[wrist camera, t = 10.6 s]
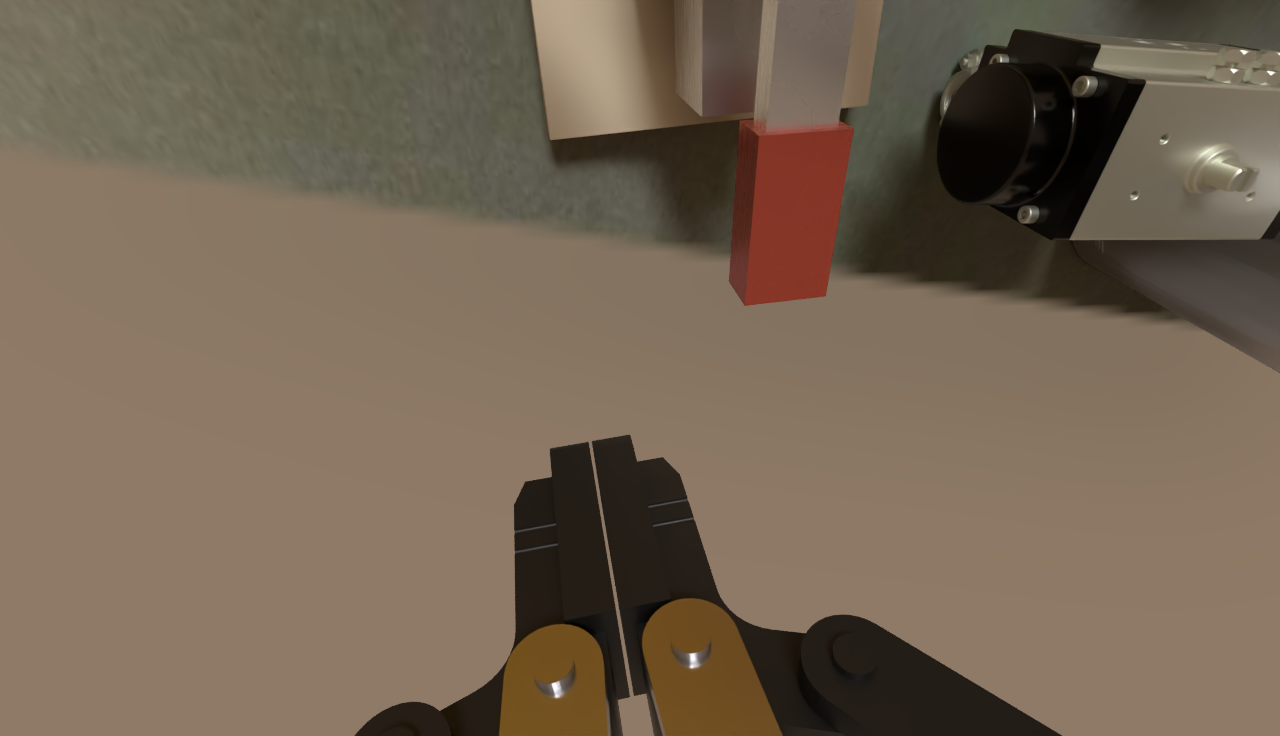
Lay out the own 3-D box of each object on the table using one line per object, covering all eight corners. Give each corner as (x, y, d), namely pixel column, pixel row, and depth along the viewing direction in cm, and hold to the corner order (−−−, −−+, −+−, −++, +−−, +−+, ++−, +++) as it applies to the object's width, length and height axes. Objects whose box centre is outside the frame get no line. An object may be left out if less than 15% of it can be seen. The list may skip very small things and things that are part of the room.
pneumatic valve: (1072, 149, 30) (1340, 254, 21) (851, 143, 28) (1037, 257, 18) (1131, 20, 27) (1479, 71, 18) (888, 0, 25) (1135, 47, 15)
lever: (758, -248, 13) (787, -268, 12) (883, -247, 14) (924, -265, 12) (726, 282, 20) (741, 305, 19) (807, 272, 21) (828, 295, 19)
